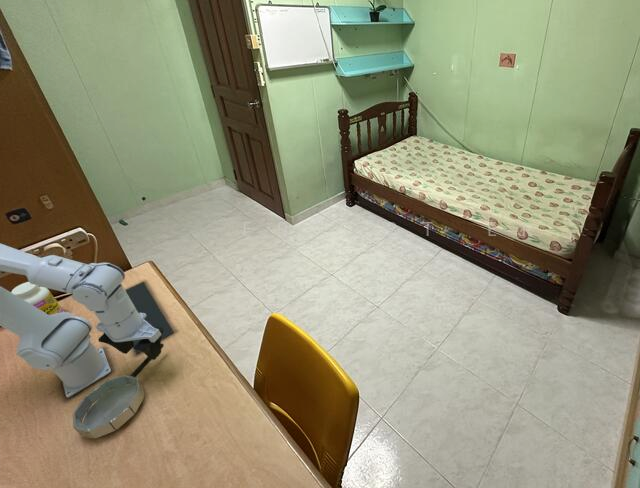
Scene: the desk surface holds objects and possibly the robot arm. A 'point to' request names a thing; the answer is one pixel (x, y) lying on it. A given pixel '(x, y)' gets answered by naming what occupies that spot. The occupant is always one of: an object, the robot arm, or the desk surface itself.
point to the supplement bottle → (38, 297)
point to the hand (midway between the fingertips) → (142, 352)
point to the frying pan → (109, 404)
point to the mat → (148, 310)
